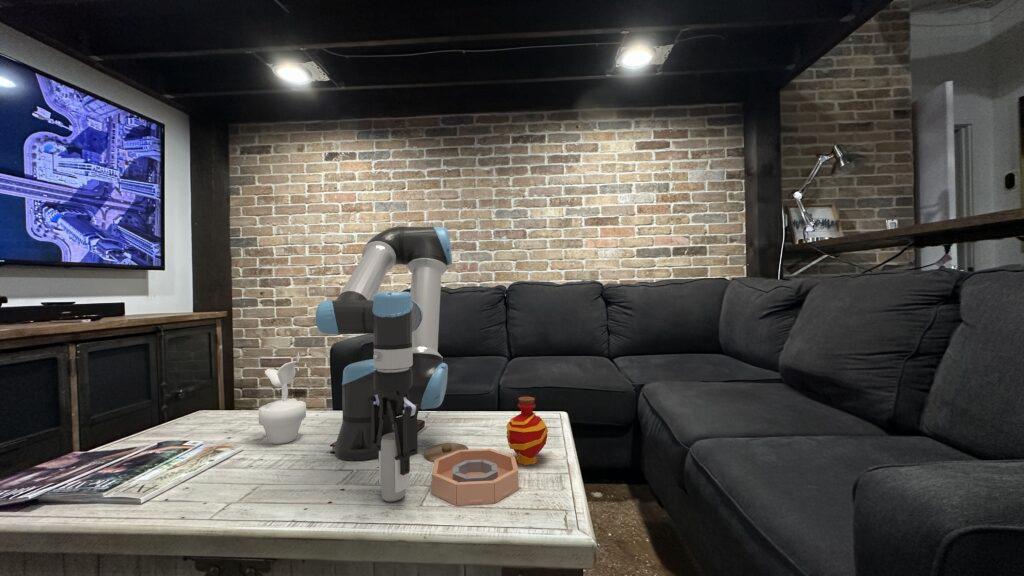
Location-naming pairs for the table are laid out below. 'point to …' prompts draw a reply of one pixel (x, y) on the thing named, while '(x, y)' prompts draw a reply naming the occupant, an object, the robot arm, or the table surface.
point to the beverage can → (389, 468)
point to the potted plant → (282, 407)
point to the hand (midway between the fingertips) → (393, 485)
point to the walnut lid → (442, 450)
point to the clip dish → (476, 486)
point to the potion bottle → (526, 432)
